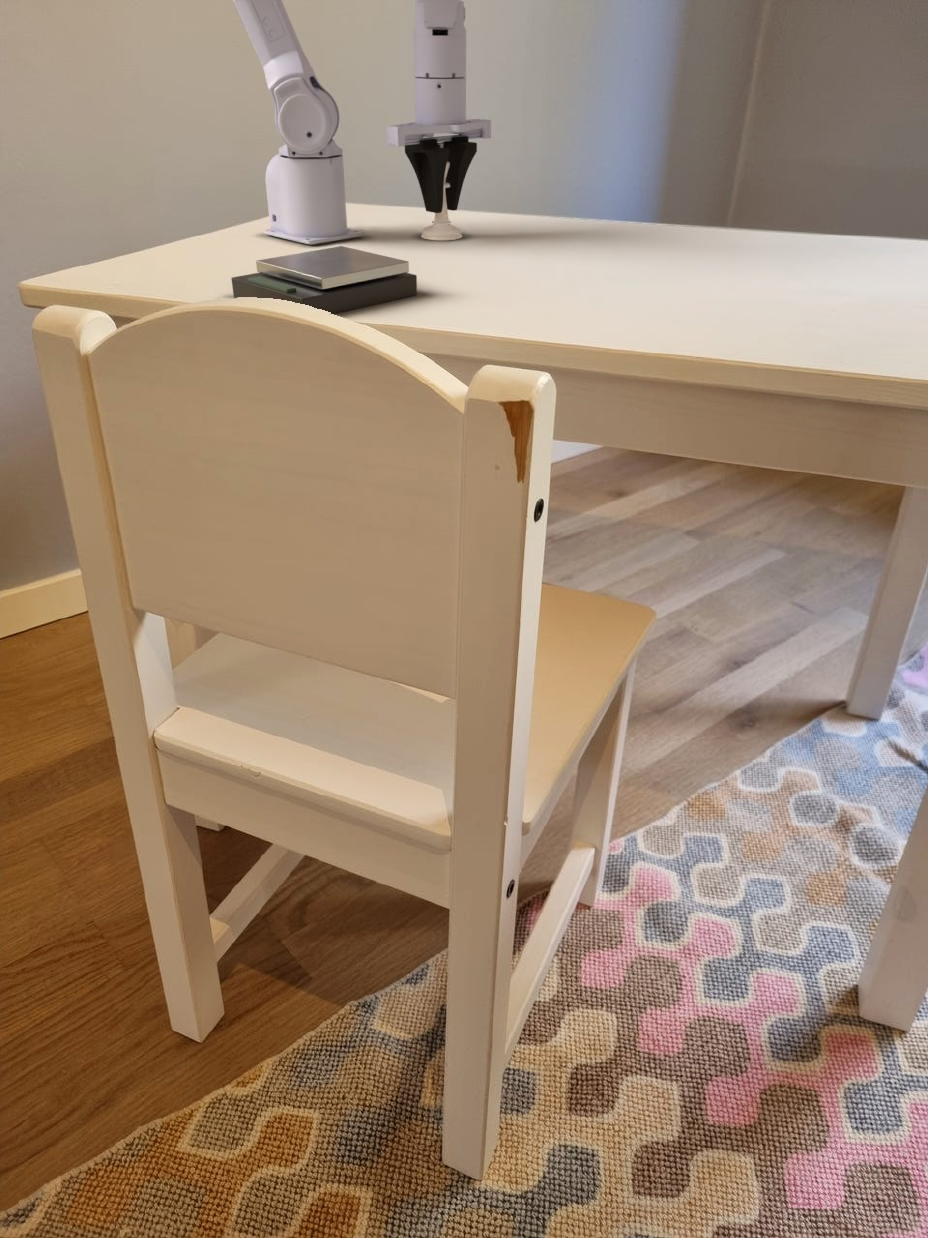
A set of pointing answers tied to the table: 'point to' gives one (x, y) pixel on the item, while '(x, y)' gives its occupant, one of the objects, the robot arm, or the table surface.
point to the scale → (326, 291)
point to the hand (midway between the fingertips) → (441, 210)
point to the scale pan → (332, 267)
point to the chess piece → (442, 220)
